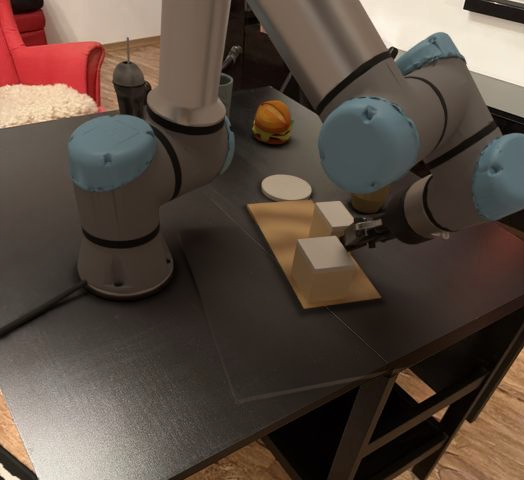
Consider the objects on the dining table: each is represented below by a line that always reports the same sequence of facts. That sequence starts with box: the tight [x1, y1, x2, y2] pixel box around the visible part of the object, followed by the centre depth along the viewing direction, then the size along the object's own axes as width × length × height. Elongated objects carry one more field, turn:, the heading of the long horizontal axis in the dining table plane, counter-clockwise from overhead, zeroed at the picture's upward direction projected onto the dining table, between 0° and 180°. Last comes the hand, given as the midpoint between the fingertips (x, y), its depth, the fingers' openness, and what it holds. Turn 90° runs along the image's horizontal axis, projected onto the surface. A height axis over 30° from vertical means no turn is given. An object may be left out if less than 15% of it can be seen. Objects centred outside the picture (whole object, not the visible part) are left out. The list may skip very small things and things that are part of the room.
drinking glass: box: [218, 72, 234, 120], centre depth 118 cm, size 10×10×12 cm
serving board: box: [246, 199, 383, 309], centre depth 89 cm, size 32×14×1 cm, turn 18°
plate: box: [260, 174, 313, 202], centre depth 104 cm, size 11×11×1 cm
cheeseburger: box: [251, 99, 295, 145], centre depth 119 cm, size 10×11×10 cm
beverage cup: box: [112, 36, 146, 121], centre depth 109 cm, size 7×7×20 cm
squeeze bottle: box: [350, 182, 392, 214], centre depth 97 cm, size 8×8×18 cm
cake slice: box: [309, 200, 354, 255], centre depth 87 cm, size 8×5×7 cm, turn 18°
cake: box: [291, 236, 357, 303], centre depth 79 cm, size 8×7×7 cm
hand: (343, 244), depth 84 cm, fingers closed
